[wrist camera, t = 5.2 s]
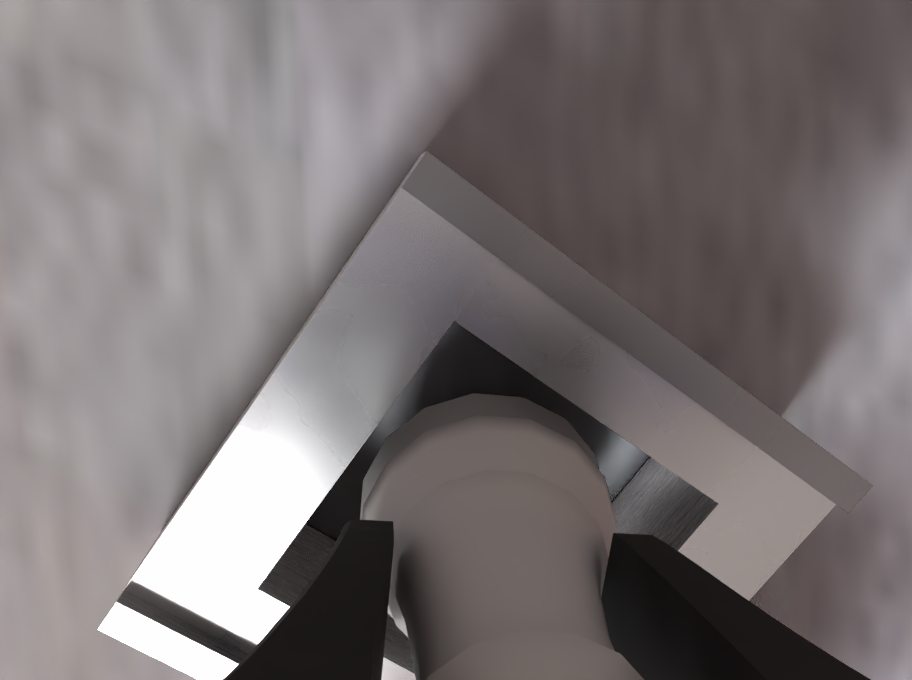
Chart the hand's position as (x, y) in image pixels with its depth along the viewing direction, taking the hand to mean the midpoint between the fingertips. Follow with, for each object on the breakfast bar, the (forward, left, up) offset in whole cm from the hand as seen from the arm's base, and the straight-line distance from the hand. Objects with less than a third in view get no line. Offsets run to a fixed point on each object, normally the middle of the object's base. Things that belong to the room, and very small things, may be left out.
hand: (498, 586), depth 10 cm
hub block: (0, 0, -4) cm, 4 cm away
